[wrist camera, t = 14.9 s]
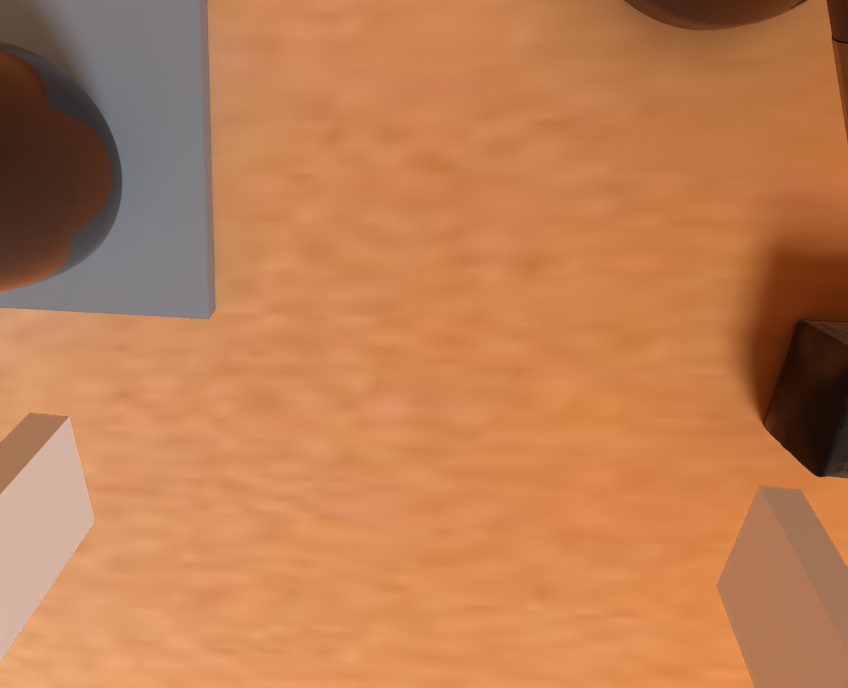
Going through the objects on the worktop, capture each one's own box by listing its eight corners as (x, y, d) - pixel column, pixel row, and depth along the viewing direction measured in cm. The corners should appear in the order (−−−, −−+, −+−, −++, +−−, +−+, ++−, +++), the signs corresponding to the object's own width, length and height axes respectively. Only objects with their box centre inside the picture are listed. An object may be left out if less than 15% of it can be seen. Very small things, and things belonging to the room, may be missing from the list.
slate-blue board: (-156, -46, 30) (-181, -52, 29) (206, -10, 32) (198, -14, 31) (-90, 293, 36) (-109, 301, 35) (215, 310, 38) (209, 318, 36)
